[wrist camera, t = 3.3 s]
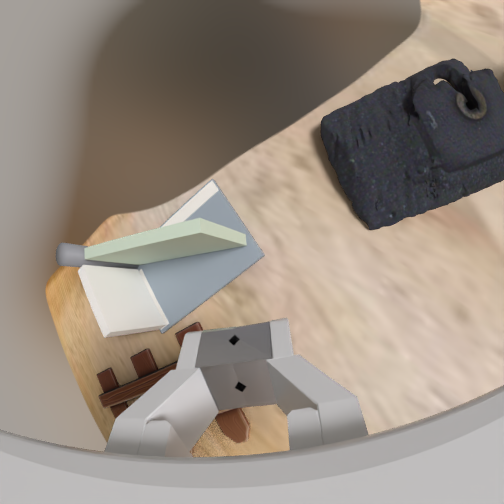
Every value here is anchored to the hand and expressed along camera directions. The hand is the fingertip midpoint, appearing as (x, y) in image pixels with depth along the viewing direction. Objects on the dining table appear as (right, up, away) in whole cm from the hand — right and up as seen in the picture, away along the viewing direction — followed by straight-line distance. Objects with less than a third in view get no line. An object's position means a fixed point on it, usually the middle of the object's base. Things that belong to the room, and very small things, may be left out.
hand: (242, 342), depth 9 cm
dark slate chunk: (+19, +15, +19) cm, 30 cm away
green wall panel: (-7, +3, +27) cm, 28 cm away
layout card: (-7, +2, +28) cm, 29 cm away
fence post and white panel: (-13, -2, +30) cm, 32 cm away
